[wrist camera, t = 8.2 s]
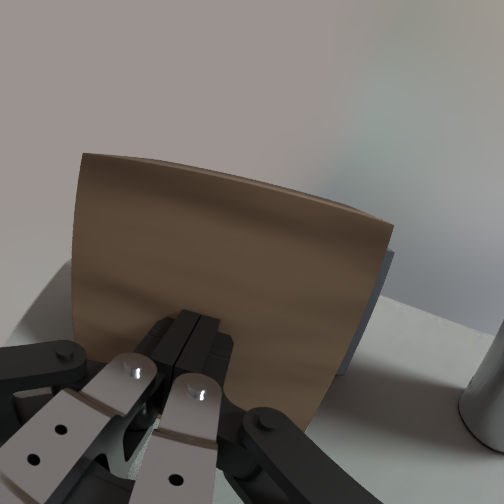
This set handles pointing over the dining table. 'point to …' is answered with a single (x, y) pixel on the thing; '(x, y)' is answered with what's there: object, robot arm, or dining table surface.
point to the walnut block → (223, 272)
